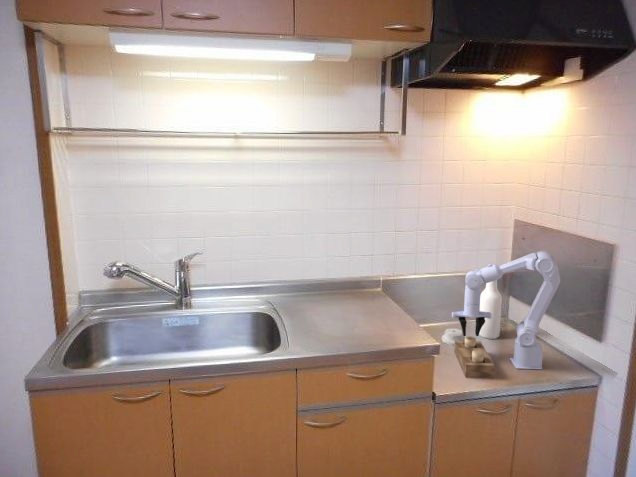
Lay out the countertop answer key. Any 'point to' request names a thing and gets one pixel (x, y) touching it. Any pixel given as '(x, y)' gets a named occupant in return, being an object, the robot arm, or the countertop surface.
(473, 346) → the peg
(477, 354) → the peg
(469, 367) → the collar bar
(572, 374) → the countertop surface
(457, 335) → the mechanical component
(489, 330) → the white milk bottle
